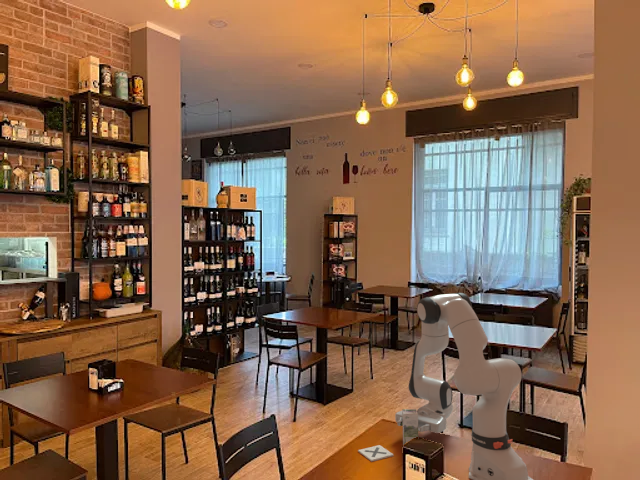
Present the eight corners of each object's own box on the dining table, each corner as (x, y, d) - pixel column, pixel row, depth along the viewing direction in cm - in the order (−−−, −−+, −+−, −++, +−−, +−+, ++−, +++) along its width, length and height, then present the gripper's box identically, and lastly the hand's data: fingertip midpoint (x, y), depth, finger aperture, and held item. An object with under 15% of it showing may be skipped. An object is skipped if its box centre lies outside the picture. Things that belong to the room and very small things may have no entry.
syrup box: (417, 444, 196) (416, 408, 196) (418, 451, 190) (417, 413, 190) (403, 444, 196) (402, 408, 196) (404, 450, 191) (403, 413, 191)
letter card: (393, 455, 186) (393, 454, 186) (371, 461, 182) (371, 459, 182) (379, 446, 195) (379, 444, 195) (358, 451, 191) (358, 449, 191)
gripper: (405, 403, 210) (386, 412, 200) (449, 414, 196) (431, 424, 186) (405, 418, 210) (387, 428, 200) (449, 430, 196) (432, 441, 186)
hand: (409, 426), depth 193 cm, fingers open, 8 cm apart
